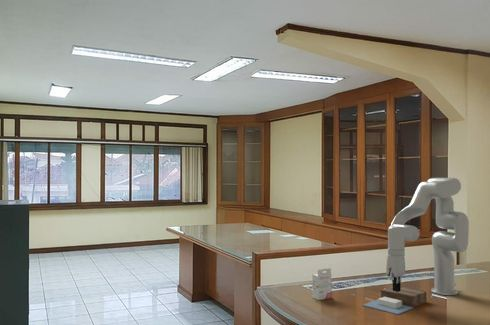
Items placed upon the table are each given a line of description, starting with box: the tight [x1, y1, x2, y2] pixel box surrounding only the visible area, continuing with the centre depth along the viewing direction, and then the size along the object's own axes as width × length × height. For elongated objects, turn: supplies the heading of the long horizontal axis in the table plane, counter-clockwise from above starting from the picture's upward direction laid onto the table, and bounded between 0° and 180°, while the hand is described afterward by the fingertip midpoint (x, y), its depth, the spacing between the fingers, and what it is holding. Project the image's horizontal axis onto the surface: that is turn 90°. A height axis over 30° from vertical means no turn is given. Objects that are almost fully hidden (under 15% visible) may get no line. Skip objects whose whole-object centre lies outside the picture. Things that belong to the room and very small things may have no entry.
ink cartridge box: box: [311, 267, 333, 301], centre depth 219 cm, size 9×5×15 cm, turn 117°
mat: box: [362, 299, 415, 316], centre depth 203 cm, size 14×18×1 cm
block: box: [377, 297, 402, 309], centre depth 205 cm, size 6×9×2 cm, turn 42°
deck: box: [380, 285, 427, 308], centre depth 213 cm, size 14×16×5 cm
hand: (396, 290), depth 209 cm, fingers closed
